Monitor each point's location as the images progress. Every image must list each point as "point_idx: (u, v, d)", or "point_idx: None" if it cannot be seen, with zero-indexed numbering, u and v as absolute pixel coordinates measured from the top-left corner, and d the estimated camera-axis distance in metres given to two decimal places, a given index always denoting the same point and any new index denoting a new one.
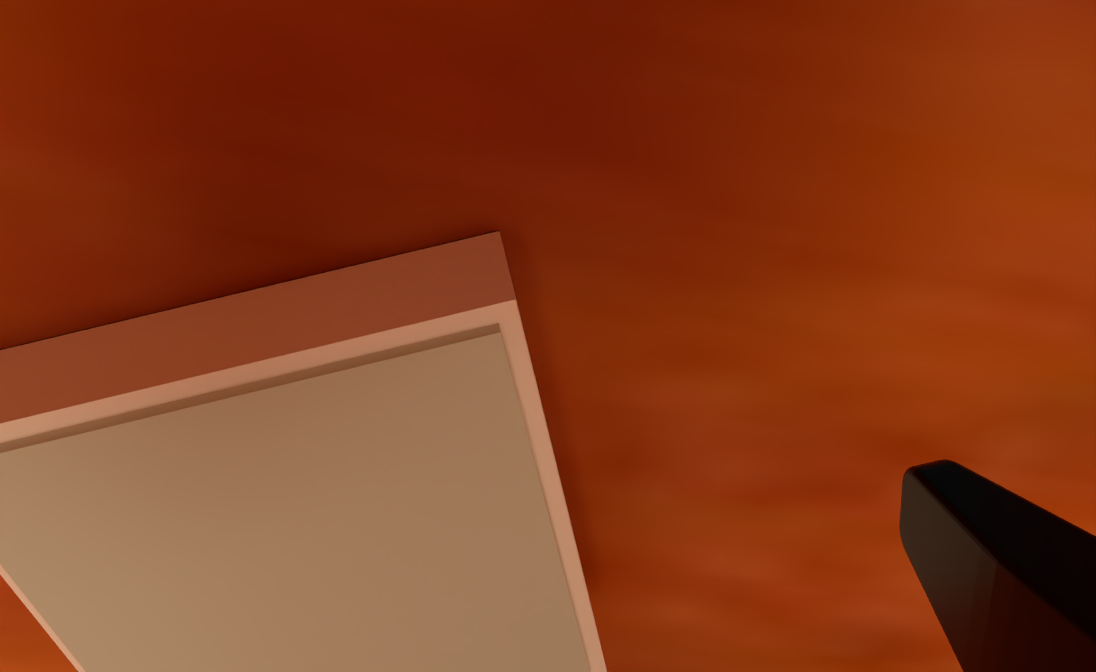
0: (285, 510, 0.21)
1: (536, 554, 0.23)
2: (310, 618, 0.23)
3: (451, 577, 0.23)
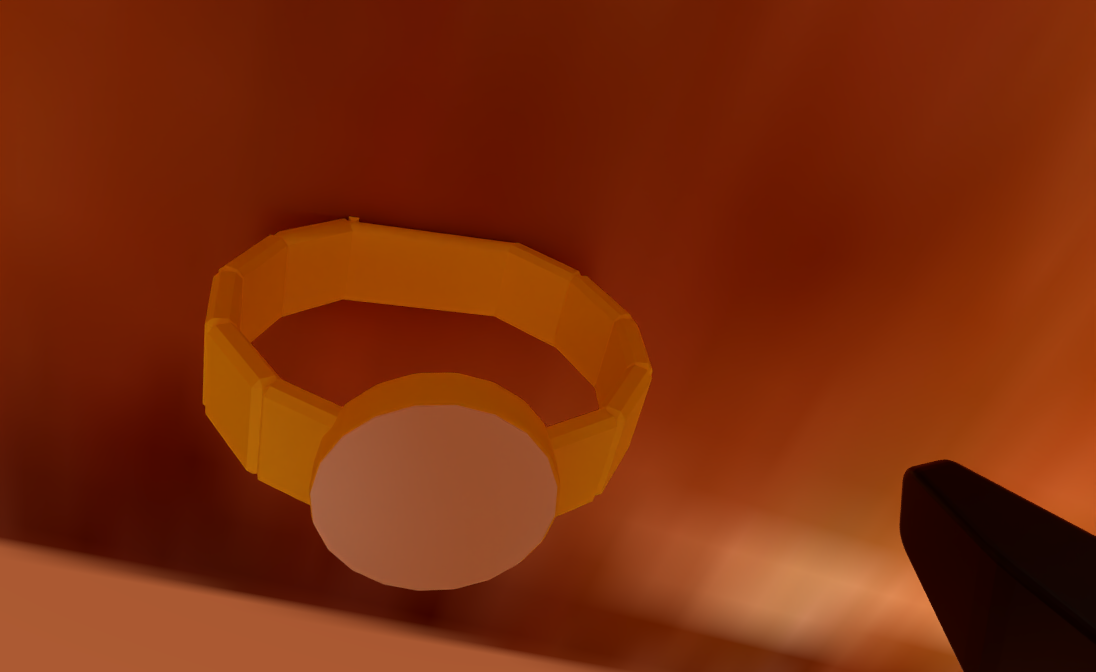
0: None
1: None
2: None
3: None
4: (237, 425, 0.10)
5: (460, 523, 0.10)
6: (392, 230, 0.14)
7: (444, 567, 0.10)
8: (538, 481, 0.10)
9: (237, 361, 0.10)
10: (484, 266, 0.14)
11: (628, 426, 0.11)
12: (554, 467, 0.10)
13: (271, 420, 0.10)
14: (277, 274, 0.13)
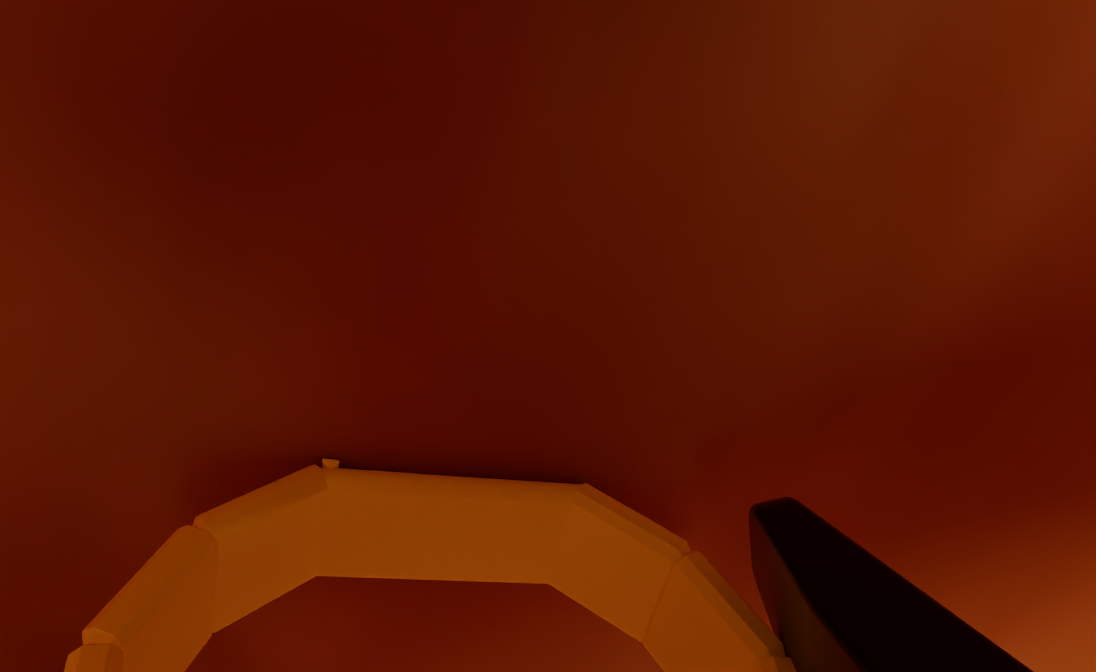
0: None
1: None
2: None
3: None
4: None
5: None
6: (391, 482, 0.09)
7: None
8: None
9: None
10: (535, 523, 0.09)
11: None
12: None
13: None
14: (198, 593, 0.07)
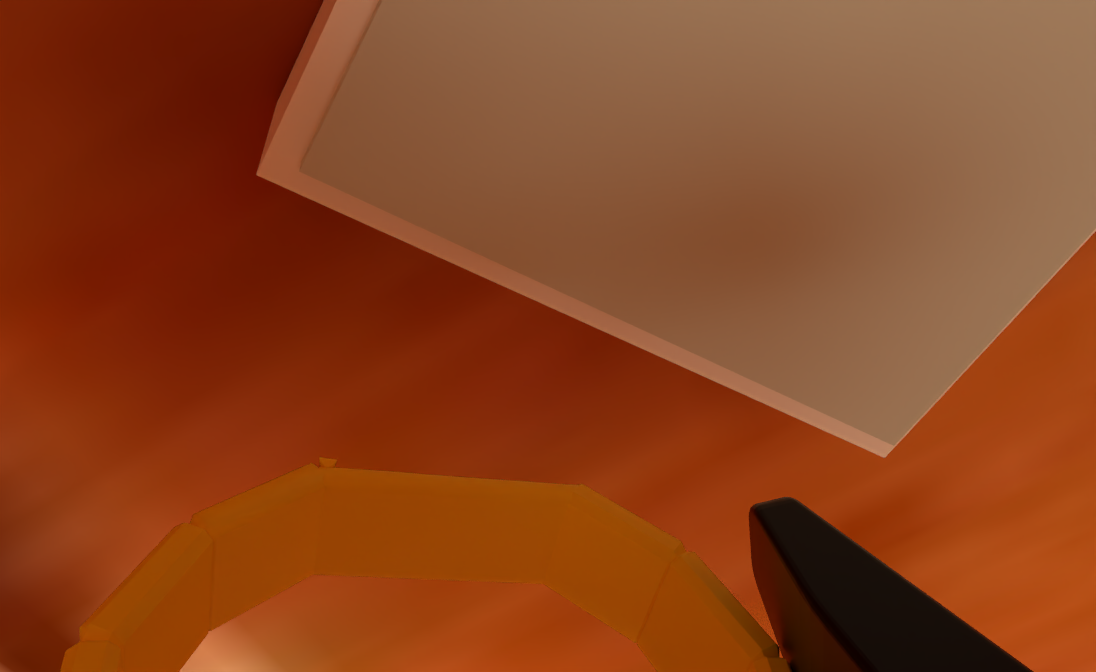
0: None
1: None
2: (914, 52, 0.13)
3: None
4: None
5: None
6: (389, 482, 0.09)
7: None
8: None
9: None
10: (531, 523, 0.09)
11: None
12: None
13: None
14: (195, 591, 0.08)
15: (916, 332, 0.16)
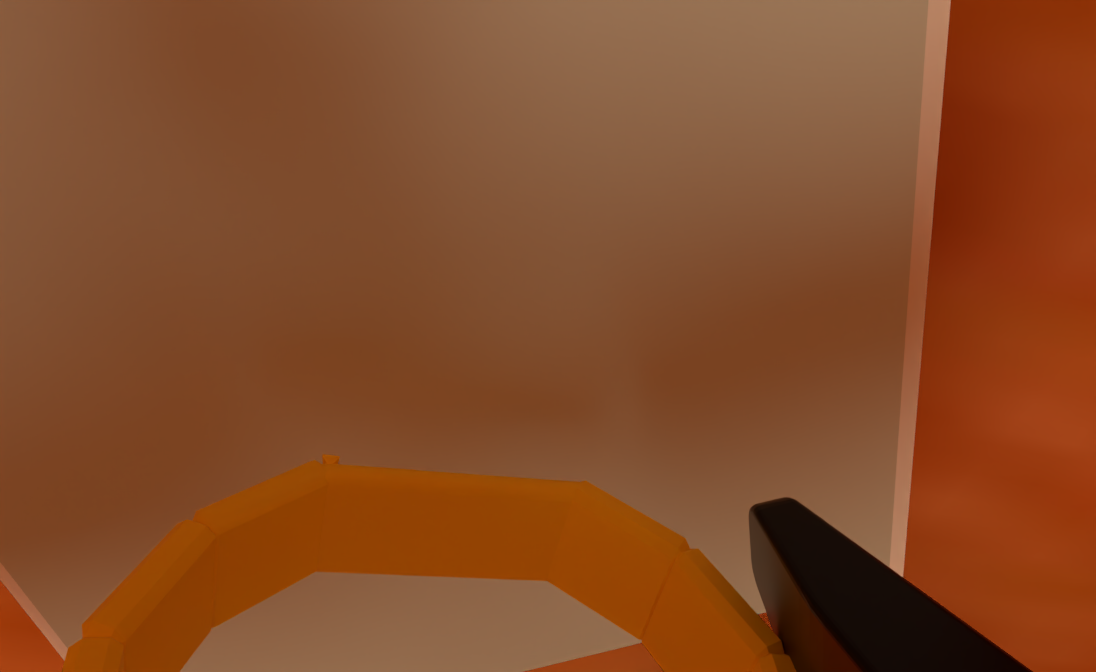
0: (397, 161, 0.10)
1: (866, 311, 0.12)
2: (423, 433, 0.12)
3: (700, 355, 0.12)
4: None
5: None
6: (391, 478, 0.09)
7: None
8: None
9: None
10: (534, 520, 0.09)
11: None
12: None
13: None
14: (197, 588, 0.07)
15: (254, 671, 0.14)
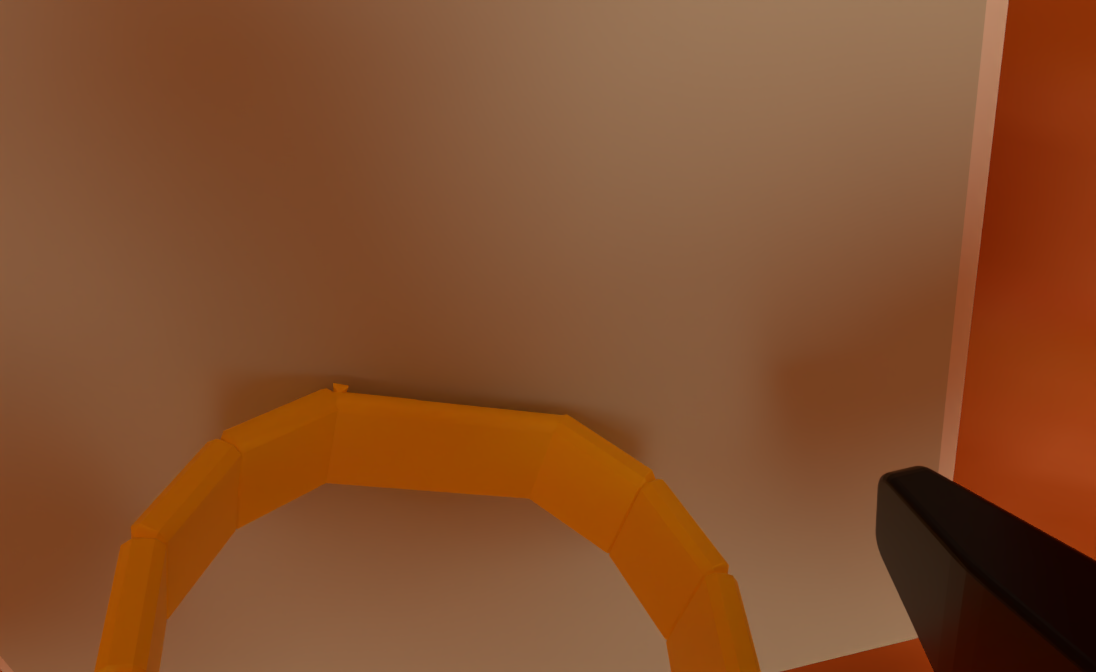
0: (404, 207, 0.09)
1: (906, 360, 0.11)
2: (430, 491, 0.11)
3: (728, 407, 0.11)
4: None
5: None
6: (394, 407, 0.10)
7: None
8: None
9: None
10: (520, 447, 0.10)
11: None
12: None
13: None
14: (225, 497, 0.09)
15: None
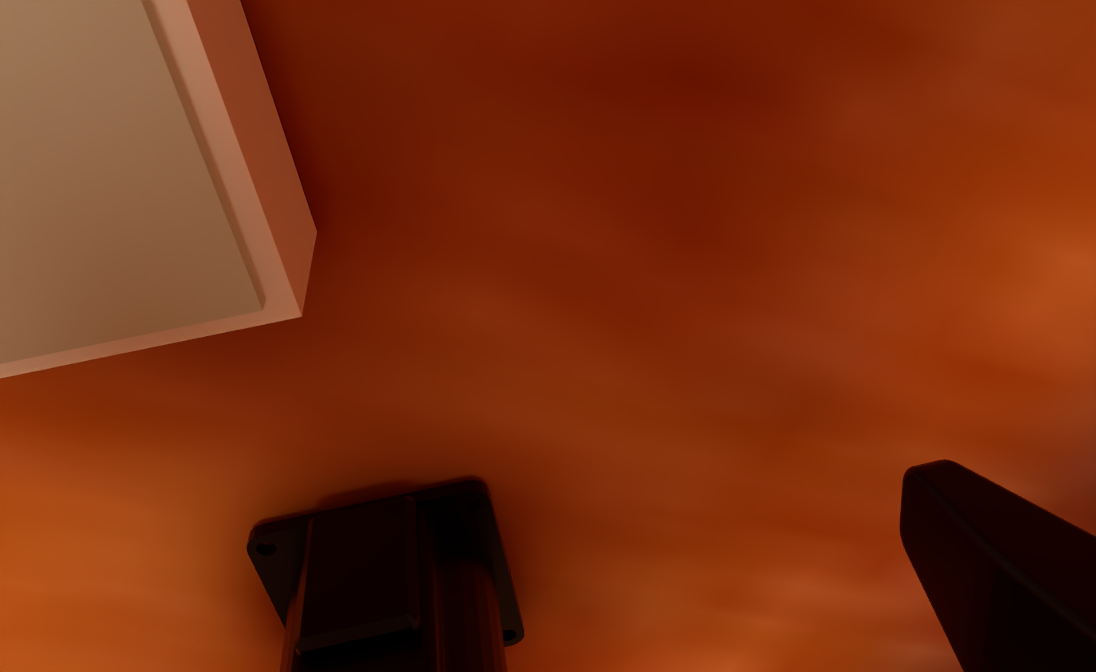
0: None
1: None
2: None
3: None
4: None
5: None
6: None
7: None
8: None
9: None
10: None
11: None
12: None
13: None
14: None
15: None
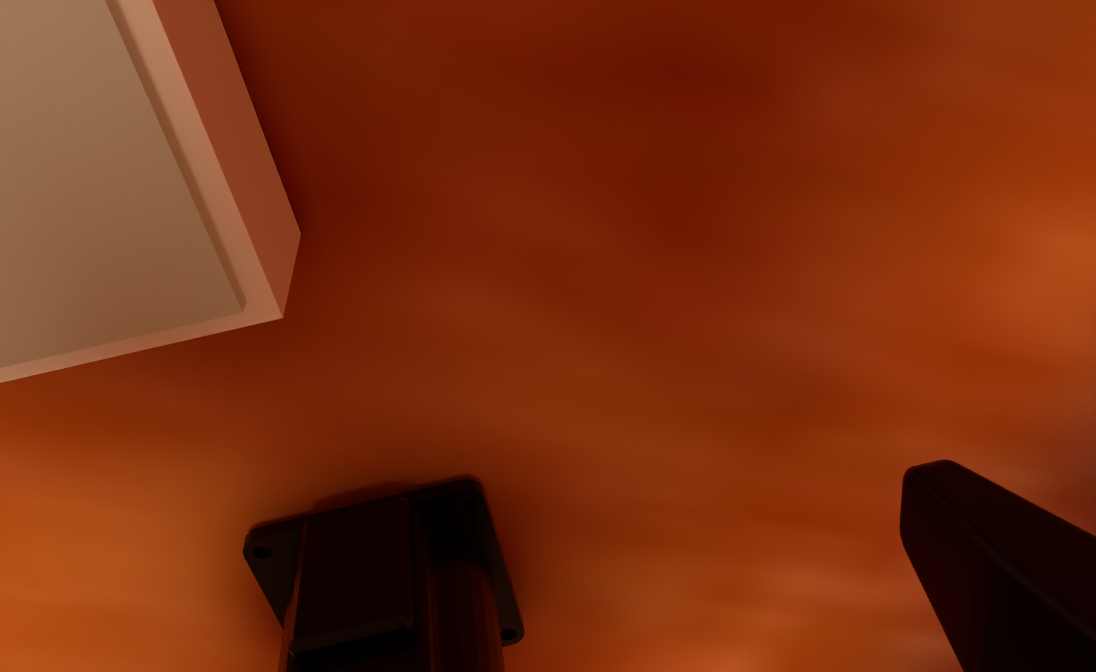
0: None
1: None
2: None
3: None
4: None
5: None
6: None
7: None
8: None
9: None
10: None
11: None
12: None
13: None
14: None
15: None
